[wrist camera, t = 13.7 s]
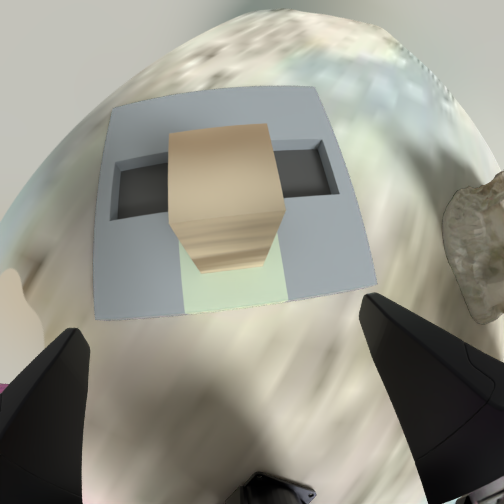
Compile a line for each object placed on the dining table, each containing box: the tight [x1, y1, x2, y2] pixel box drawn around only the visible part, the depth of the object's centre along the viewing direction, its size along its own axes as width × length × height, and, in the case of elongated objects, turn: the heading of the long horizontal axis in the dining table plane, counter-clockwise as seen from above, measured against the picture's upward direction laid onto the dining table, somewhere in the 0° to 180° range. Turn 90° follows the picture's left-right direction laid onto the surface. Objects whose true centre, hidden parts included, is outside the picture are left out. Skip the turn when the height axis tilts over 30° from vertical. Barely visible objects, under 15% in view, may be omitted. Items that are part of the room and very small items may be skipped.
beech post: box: [168, 123, 286, 274], centre depth 16 cm, size 4×4×10 cm
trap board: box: [93, 86, 377, 321], centre depth 23 cm, size 22×22×2 cm
